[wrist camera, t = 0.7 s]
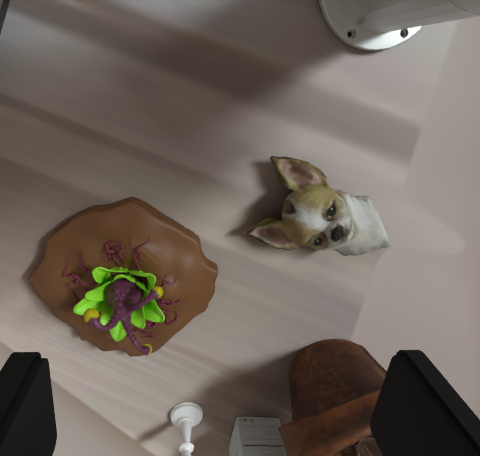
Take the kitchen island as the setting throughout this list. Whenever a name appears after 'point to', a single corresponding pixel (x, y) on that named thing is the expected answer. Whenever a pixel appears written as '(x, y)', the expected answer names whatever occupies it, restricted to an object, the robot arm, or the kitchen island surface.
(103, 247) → the plant
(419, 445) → the robot arm
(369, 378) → the brown flower pot
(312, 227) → the ceramic sculpture
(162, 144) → the kitchen island surface
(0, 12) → the slider console
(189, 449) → the chess piece
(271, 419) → the supplement box
